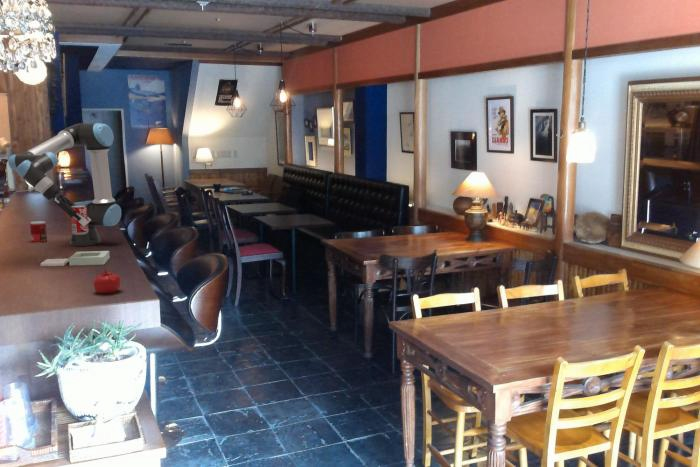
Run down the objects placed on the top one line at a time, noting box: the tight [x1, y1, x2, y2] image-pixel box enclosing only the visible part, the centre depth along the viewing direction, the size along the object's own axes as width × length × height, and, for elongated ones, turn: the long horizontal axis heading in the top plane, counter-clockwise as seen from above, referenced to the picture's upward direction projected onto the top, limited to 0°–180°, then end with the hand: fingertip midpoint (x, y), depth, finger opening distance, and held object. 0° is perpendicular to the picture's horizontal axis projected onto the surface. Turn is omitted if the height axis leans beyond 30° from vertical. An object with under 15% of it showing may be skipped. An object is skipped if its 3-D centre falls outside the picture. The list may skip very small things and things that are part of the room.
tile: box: [40, 258, 69, 267], centre depth 297 cm, size 10×10×1 cm
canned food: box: [29, 220, 48, 243], centre depth 350 cm, size 8×8×11 cm
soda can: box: [70, 205, 88, 235], centre depth 296 cm, size 7×7×13 cm
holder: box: [68, 250, 111, 267], centre depth 301 cm, size 15×15×4 cm
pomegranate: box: [92, 268, 122, 295], centre depth 247 cm, size 10×10×9 cm
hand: (87, 223), depth 298 cm, fingers closed on soda can, 6 cm apart
